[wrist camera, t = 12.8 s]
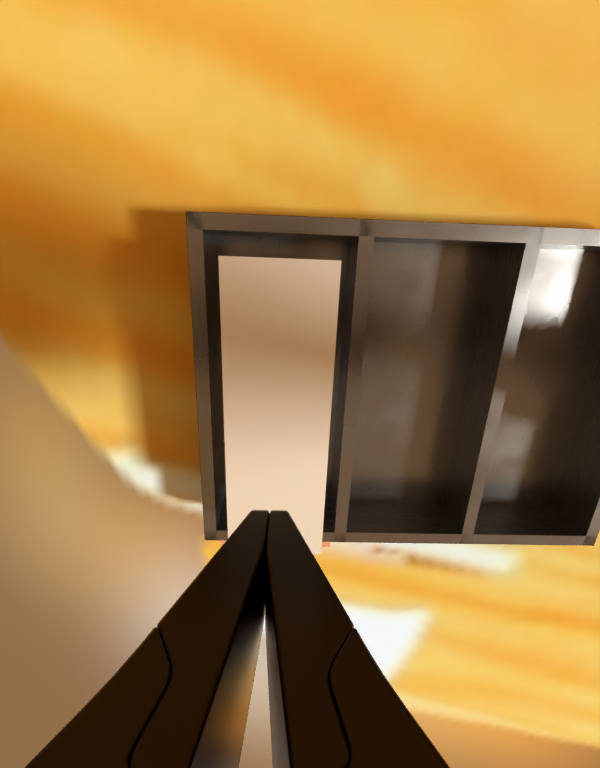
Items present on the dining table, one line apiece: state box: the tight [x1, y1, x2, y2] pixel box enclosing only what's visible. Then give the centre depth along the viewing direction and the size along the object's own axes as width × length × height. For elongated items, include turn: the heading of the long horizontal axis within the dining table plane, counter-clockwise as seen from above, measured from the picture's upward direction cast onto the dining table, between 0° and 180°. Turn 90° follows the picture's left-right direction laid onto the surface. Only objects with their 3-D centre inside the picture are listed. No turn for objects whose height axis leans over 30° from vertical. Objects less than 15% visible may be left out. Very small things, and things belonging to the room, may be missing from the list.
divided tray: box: [186, 211, 600, 547], centre depth 17 cm, size 20×16×3 cm
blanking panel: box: [218, 256, 341, 554], centre depth 16 cm, size 4×12×5 cm, turn 178°
